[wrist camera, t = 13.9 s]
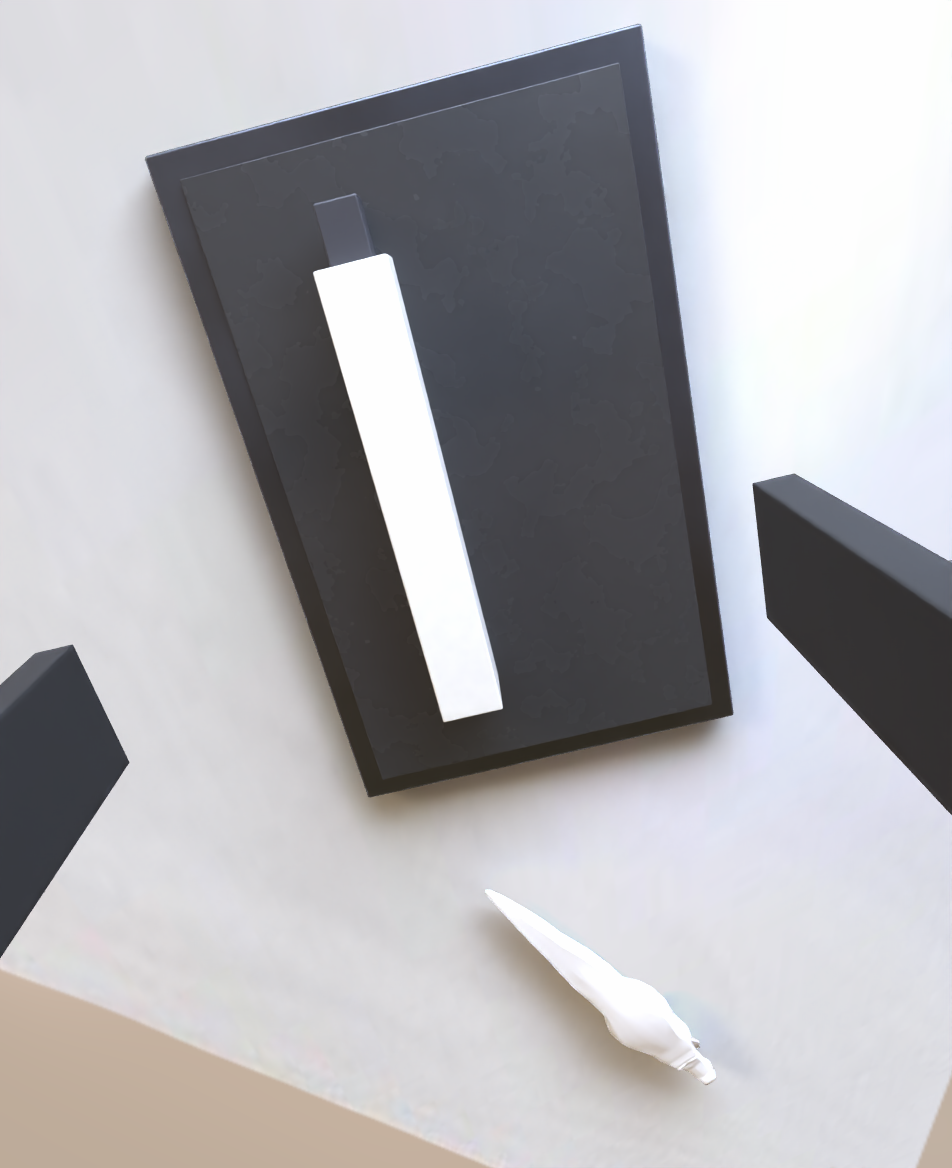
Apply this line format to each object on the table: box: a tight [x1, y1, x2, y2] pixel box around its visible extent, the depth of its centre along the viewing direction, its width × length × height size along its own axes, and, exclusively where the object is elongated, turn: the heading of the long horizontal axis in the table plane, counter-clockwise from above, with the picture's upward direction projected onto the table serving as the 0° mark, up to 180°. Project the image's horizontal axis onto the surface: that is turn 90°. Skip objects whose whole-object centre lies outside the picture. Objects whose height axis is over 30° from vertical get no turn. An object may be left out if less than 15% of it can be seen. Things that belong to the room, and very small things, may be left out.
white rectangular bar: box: [313, 193, 503, 722], centre depth 24 cm, size 2×16×2 cm, turn 13°
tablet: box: [145, 24, 733, 797], centre depth 25 cm, size 14×22×1 cm, turn 13°
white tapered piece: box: [485, 889, 716, 1085], centre depth 33 cm, size 15×3×2 cm, turn 43°
